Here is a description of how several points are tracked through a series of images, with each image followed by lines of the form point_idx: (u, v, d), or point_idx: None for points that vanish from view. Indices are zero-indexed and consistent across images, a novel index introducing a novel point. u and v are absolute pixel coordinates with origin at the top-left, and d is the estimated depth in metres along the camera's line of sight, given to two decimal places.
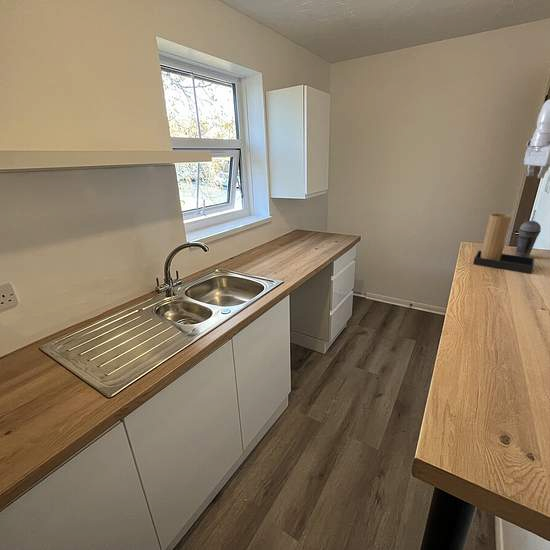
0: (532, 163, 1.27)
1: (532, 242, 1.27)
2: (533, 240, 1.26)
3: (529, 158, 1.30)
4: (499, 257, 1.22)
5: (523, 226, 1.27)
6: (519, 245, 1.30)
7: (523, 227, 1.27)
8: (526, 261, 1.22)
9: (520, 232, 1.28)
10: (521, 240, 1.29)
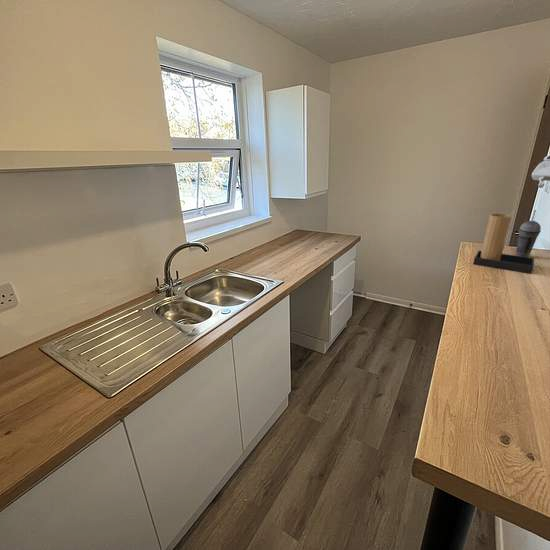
0: None
1: (532, 242, 1.27)
2: (533, 240, 1.26)
3: (545, 170, 1.31)
4: (499, 257, 1.22)
5: (523, 226, 1.27)
6: (519, 245, 1.30)
7: (523, 227, 1.27)
8: (526, 261, 1.22)
9: (520, 232, 1.28)
10: (521, 240, 1.29)
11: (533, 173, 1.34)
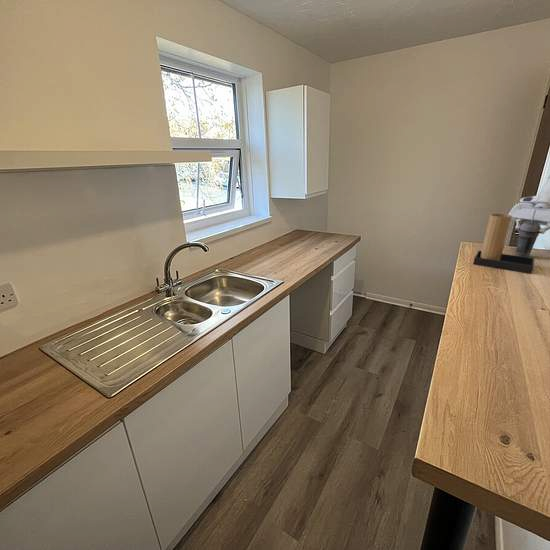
0: (531, 217, 1.28)
1: (532, 242, 1.27)
2: (533, 240, 1.26)
3: (521, 212, 1.31)
4: (499, 257, 1.22)
5: (523, 226, 1.27)
6: (519, 245, 1.30)
7: (523, 227, 1.27)
8: (526, 261, 1.22)
9: (520, 232, 1.28)
10: (521, 240, 1.29)
11: (509, 214, 1.34)
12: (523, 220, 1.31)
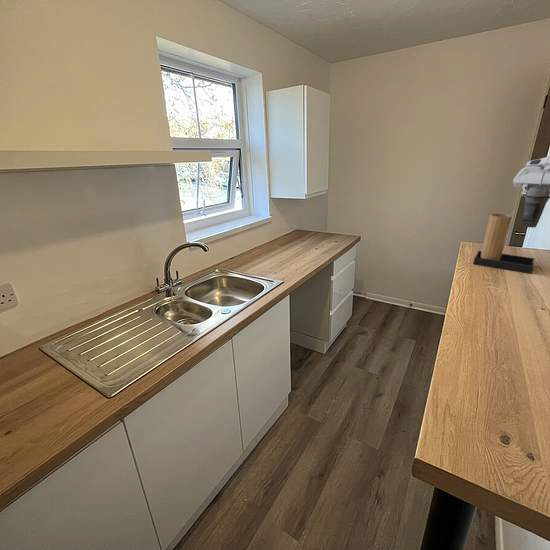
0: (539, 181, 1.13)
1: (540, 209, 1.12)
2: (541, 207, 1.12)
3: (527, 176, 1.17)
4: (499, 257, 1.22)
5: (530, 191, 1.13)
6: (525, 213, 1.16)
7: (530, 192, 1.12)
8: (526, 261, 1.22)
9: (527, 198, 1.14)
10: (528, 207, 1.14)
11: (514, 180, 1.20)
12: (530, 186, 1.17)
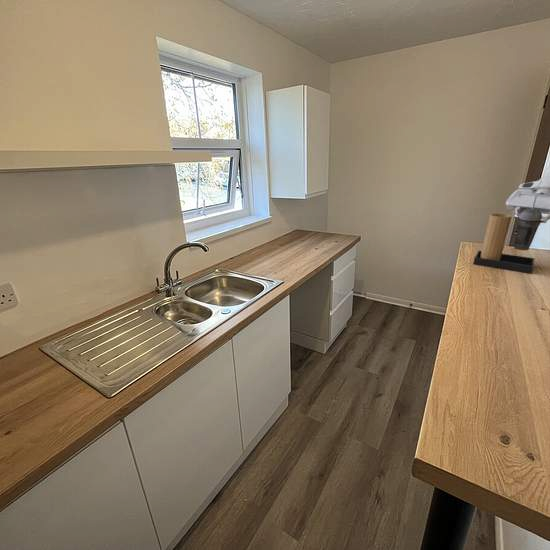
0: (532, 205, 1.14)
1: (532, 233, 1.13)
2: (534, 230, 1.12)
3: (520, 199, 1.17)
4: (499, 257, 1.22)
5: (522, 215, 1.13)
6: (518, 236, 1.16)
7: (523, 215, 1.13)
8: (526, 261, 1.22)
9: (519, 222, 1.14)
10: (520, 231, 1.15)
11: (507, 202, 1.20)
12: (522, 208, 1.17)
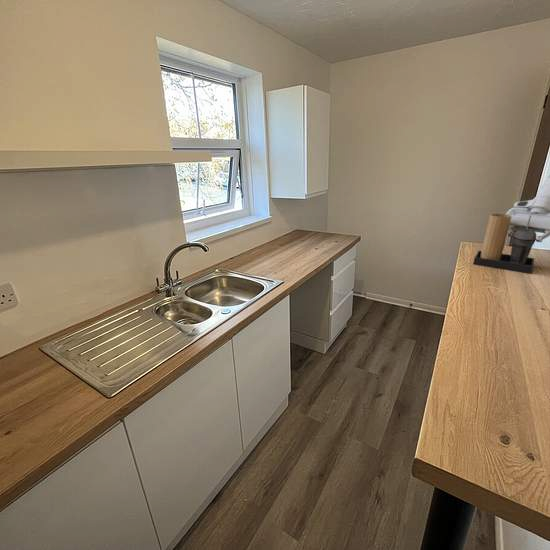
0: (526, 223, 1.16)
1: (527, 251, 1.15)
2: (528, 249, 1.15)
3: (515, 217, 1.20)
4: (499, 257, 1.22)
5: (517, 233, 1.16)
6: (513, 254, 1.19)
7: (517, 234, 1.15)
8: (526, 261, 1.22)
9: (514, 240, 1.17)
10: (515, 249, 1.17)
11: None
12: (517, 226, 1.20)
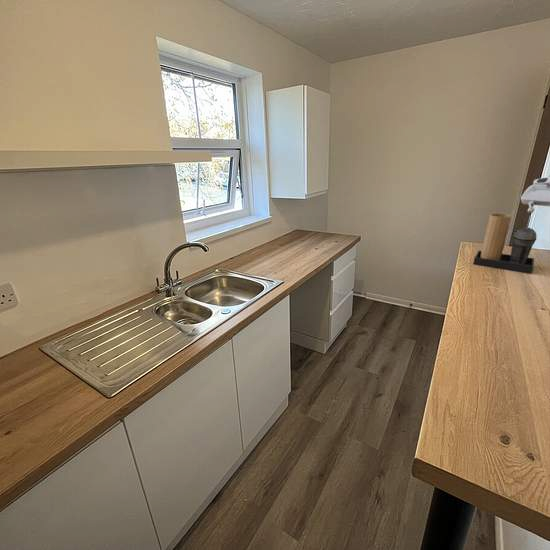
0: (546, 199, 1.19)
1: (527, 251, 1.15)
2: (528, 249, 1.15)
3: (535, 194, 1.23)
4: (499, 257, 1.22)
5: (517, 233, 1.16)
6: (513, 254, 1.19)
7: (517, 234, 1.15)
8: (526, 261, 1.22)
9: (514, 240, 1.17)
10: (515, 249, 1.17)
11: (522, 197, 1.26)
12: (537, 203, 1.23)
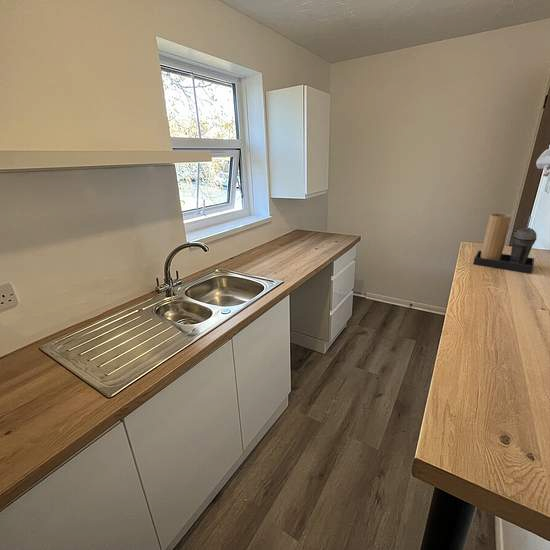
0: None
1: (527, 251, 1.15)
2: (528, 249, 1.15)
3: None
4: (499, 257, 1.22)
5: (517, 233, 1.16)
6: (513, 254, 1.19)
7: (517, 234, 1.15)
8: (526, 261, 1.22)
9: (514, 240, 1.17)
10: (515, 249, 1.17)
11: (538, 161, 1.26)
12: None
